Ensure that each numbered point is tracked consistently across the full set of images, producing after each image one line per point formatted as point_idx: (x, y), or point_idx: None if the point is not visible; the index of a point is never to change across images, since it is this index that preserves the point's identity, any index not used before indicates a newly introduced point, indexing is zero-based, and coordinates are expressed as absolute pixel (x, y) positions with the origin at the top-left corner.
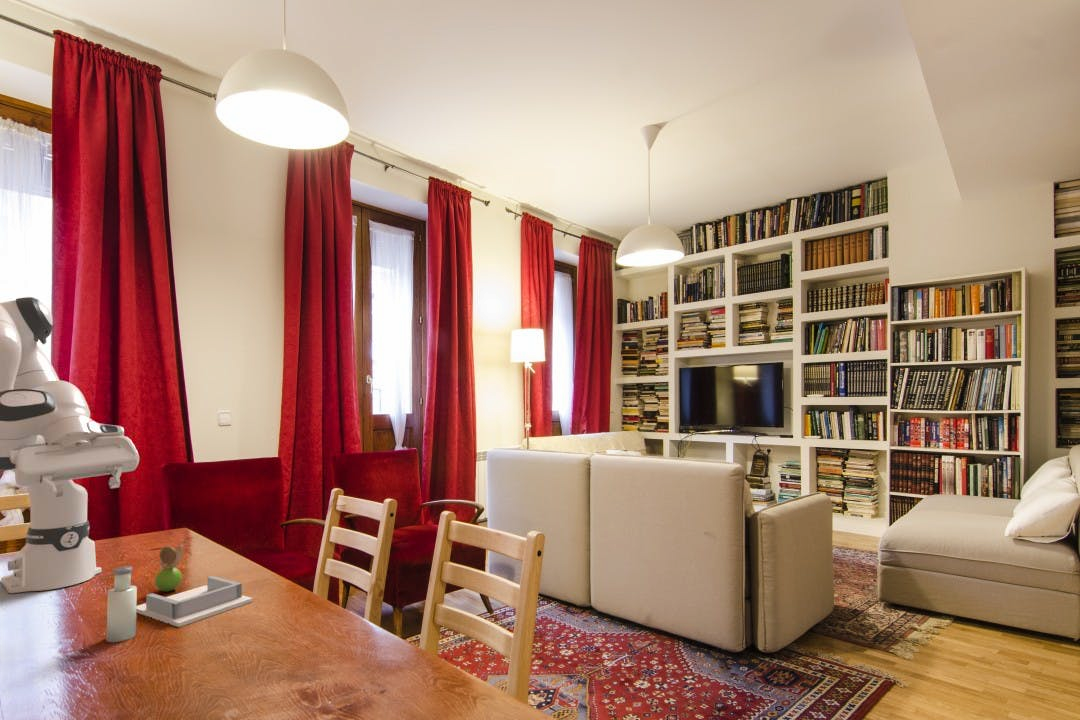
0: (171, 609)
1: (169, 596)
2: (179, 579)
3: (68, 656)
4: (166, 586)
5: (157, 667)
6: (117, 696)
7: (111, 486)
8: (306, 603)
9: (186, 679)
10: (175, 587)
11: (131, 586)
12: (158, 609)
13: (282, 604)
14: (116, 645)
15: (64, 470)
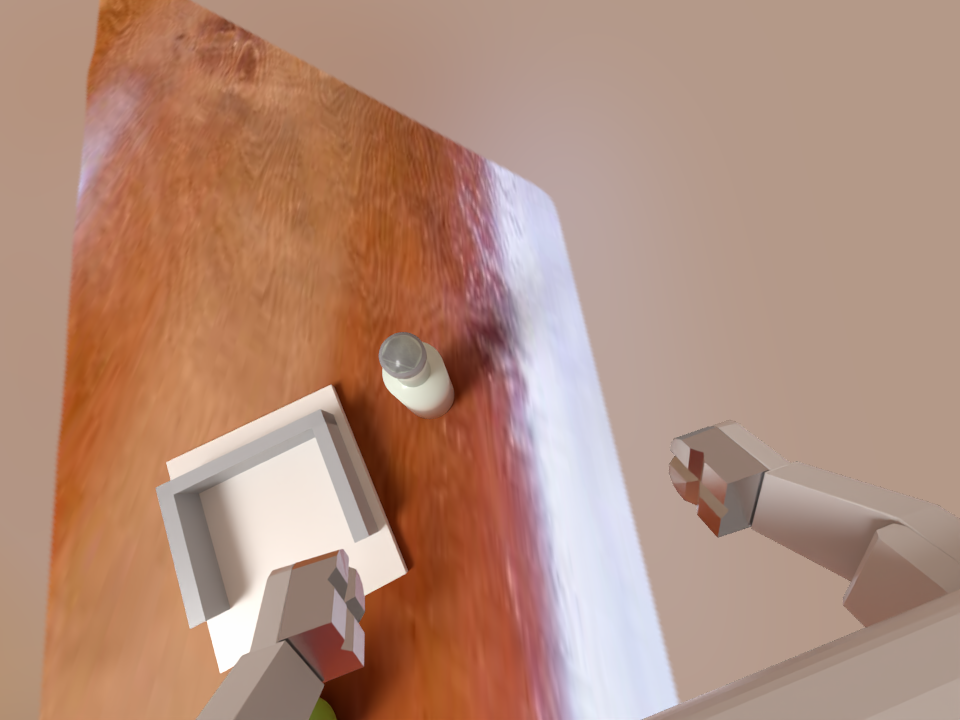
0: (332, 426)
1: None
2: None
3: (508, 348)
4: None
5: (384, 226)
6: (434, 167)
7: (352, 575)
8: (94, 379)
9: (355, 169)
10: None
11: (393, 384)
12: (355, 477)
13: (132, 403)
14: None
15: (846, 639)
